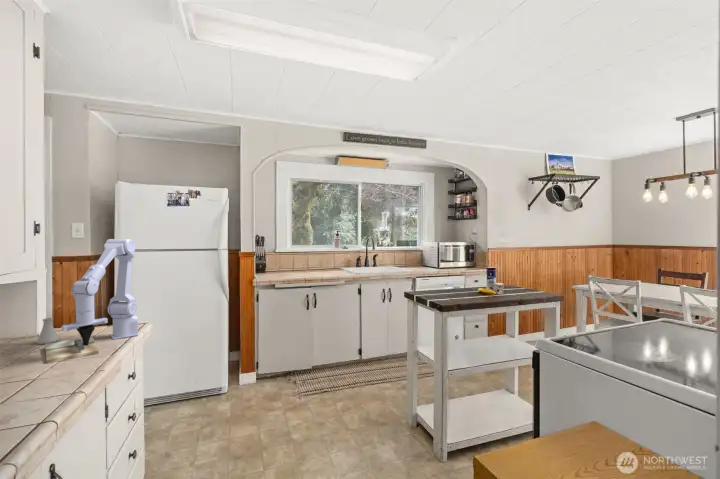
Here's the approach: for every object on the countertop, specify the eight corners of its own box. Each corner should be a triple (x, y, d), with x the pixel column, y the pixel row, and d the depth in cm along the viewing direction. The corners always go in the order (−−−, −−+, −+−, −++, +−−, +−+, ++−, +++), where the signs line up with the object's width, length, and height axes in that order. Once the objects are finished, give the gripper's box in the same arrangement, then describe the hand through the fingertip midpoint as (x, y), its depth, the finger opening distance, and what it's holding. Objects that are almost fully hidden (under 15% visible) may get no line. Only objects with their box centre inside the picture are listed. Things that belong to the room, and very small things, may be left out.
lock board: (91, 340, 152) (91, 331, 151) (98, 353, 135) (98, 343, 135) (45, 348, 141) (45, 338, 141) (46, 363, 125) (46, 352, 125)
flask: (48, 344, 146) (48, 320, 145) (31, 344, 146) (31, 320, 146) (63, 339, 153) (63, 316, 153) (47, 339, 153) (47, 316, 153)
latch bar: (73, 343, 140) (73, 339, 140) (84, 341, 142) (84, 338, 142) (76, 350, 132) (76, 346, 132) (86, 348, 134) (86, 344, 134)
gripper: (101, 306, 145) (101, 338, 145) (57, 313, 133) (58, 348, 133) (110, 308, 142) (110, 341, 142) (65, 315, 129) (66, 351, 129)
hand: (85, 345), depth 137 cm, fingers closed, pressing on latch bar
